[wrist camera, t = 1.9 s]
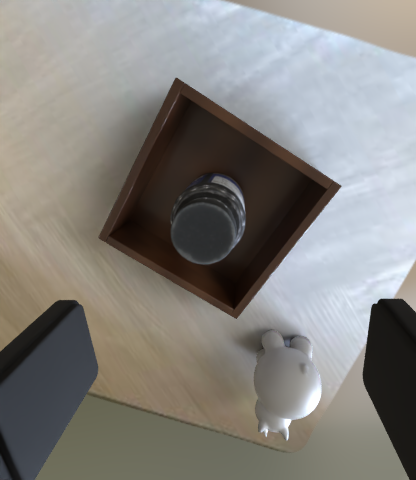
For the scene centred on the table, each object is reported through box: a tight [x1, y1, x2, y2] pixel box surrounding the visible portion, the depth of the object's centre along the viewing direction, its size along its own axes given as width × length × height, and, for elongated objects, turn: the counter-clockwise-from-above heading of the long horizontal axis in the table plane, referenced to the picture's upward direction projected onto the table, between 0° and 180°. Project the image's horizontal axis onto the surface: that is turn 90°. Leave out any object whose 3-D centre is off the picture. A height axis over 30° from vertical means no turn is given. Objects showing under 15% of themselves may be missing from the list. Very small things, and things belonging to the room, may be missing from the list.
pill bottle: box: [170, 173, 246, 264], centre depth 26 cm, size 6×6×11 cm
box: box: [98, 78, 341, 319], centre depth 28 cm, size 16×16×6 cm
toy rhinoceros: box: [254, 330, 321, 440], centre depth 34 cm, size 7×12×8 cm, turn 166°
